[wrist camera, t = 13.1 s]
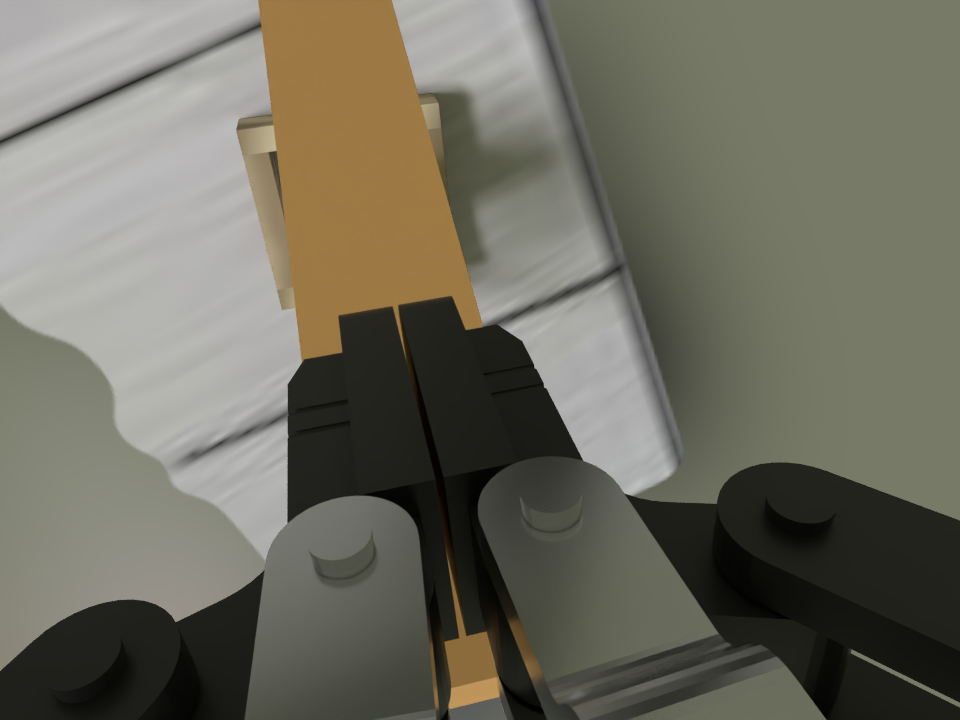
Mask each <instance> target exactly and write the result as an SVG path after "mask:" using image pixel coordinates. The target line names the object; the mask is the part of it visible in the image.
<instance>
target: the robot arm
mask: <svg viewBox="0 0 960 720" xmlns="http://www.w3.org/2000/svg"><path fill="white" fill-rule="evenodd" d="M398 311H399V319H400V325H401V331H402V338H403V344H404V350H405V354H404V350H403V346H402V342H401V338H400V334H399V329H398V325H397V321H396V317H395V313H394V309H393V306H390V307H384V308H378V309H372V310H367V311H361V312H355V313H349V314H343V315H338V319H339V328H340V336H341V345H342V353H337V354H331V355H325V356H320V357H314V358H309V359H304V361H303V362H302V364H301V365H300V367H299V368H298V370H297V371H296V373H295V374H294V376H293V377H292V379H291V381H290V382H289V384H288V414H289V416H288V436H289V438H288V523H287V525H286V526H285V527H284V528H283V529H282V530H281V531H280V532H279V533H278V535H277V536H276V538H275V539H274V540H273V542H272V544H271V546H270V549H269V551H268V554H267V558H266V563H265V570H264V571H263V572H262V573H261V574H260V575H259V576H257V577H256V578H255V579H254V580H253V581H252V582H251V583H249V584H248V585H246V586H245V587H243V588H242V589H241V590H239V591H238V592H236V593H234V594H232V595H230V596H229V597H227V598H225V599H223V600H221V601H219V602H217V603H215V604H213V605H211V606H209V607H207V608H205V609H202V610H200V611H198V612H196V613H194V614H192V615H190V616H188V617H186V618H184V619H182V620H180V621H178V622H175V621H174V619H173V617H172V616H171V615H170V614H169V613H168V612H167V611H166V610H164V609H163V608H161V607H159V606H157V605H156V604H152V603H149V602H146V601H140V600H117V601H112V602H106V603H102V604H98V605H95V606H92V607H89V608H86V609H84V610H82V611H79V612H77V613H74V614H73V615H71V616H69V617H67V618H65V619H63V620H62V621H60V622H58V623H57V624H55V625H54V626H52V627H51V628H49V629H48V630H46V631H45V632H44V633H43V634H41V635H40V636H39V637H38V638H36V640H34V641H33V642H32V643H31V644H29V645H28V646H27V647H26V648H25V649H24V650H23V651H22V652H21V653H20V654H19V655H17V656H16V657H15V658H14V659H13V660H12V661H11V662H10V663H9V664H8V665H6V666H5V667H4V668H3V669H2V670H1V671H0V720H451V717H450V711H449V701H450V698H451V678H450V672H449V666H448V660H447V654H446V648H445V641H450V640H454V639H458V638H459V632H458V625H457V619H456V612H455V605H454V599H453V592H452V586H451V579H450V572H449V566H448V561H449V565H450V569H451V573H452V578H453V582H454V586H455V590H456V594H457V599H458V603H459V607H460V611H461V616H462V620H463V624H464V628H465V633H466V636H469V635H474V634H478V633H482V632H486V631H487V635H488V639H489V642H490V646H491V650H492V654H493V658H494V661H495V668H496V677H497V686H498V693H499V697H500V701H501V704H502V707H503V710H504V713H505V716H506V719H507V720H960V708H959V707H957V706H955V705H953V704H951V703H949V702H947V701H945V700H943V699H941V698H939V697H937V696H935V695H933V694H931V693H929V692H927V691H925V690H923V689H921V688H919V687H917V686H915V685H913V684H911V683H909V682H907V681H905V680H903V679H901V678H899V677H897V676H895V675H893V674H891V673H889V672H887V671H885V670H883V669H881V668H879V667H877V666H875V665H873V664H871V663H869V662H867V661H865V660H863V659H861V658H859V657H857V656H855V655H853V654H851V650H852V649H853V650H854V651H856V652H858V653H861V654H863V655H865V656H867V657H869V658H871V659H873V660H875V661H877V662H879V663H881V664H883V665H885V666H887V667H889V668H891V669H893V670H895V671H897V672H899V673H901V674H903V675H905V676H907V677H909V678H911V679H913V680H915V681H917V682H919V683H921V684H923V685H926V686H927V687H929V688H931V689H934V690H935V691H938V692H940V693H942V694H944V695H946V696H948V697H950V698H952V699H954V700H956V701H958V702H960V521H959V520H957V519H954V518H951V517H949V516H946V515H943V514H941V513H938V512H935V511H932V510H930V509H927V508H924V507H922V506H919V505H916V504H914V503H911V502H908V501H906V500H903V499H900V498H897V497H895V496H892V495H889V494H887V493H884V492H881V491H878V490H876V489H873V488H871V487H868V486H865V485H862V484H860V483H857V482H854V481H852V480H849V479H846V478H844V477H841V476H838V475H836V474H833V473H830V472H828V471H824V470H821V469H818V468H815V467H811V466H806V465H802V464H795V463H766V464H759V465H756V466H752V467H749V468H746V469H744V470H741V471H740V472H738V473H736V474H735V475H733V476H732V477H730V478H729V480H728V481H727V482H726V483H725V484H724V485H723V487H722V489H721V490H720V493H719V496H718V500H717V504H704V503H676V502H675V503H674V502H659V501H650V500H645V499H640V498H637V497H633V496H630V495H627V494H624V492H623V491H622V489H621V488H620V486H619V485H618V484H617V483H616V482H615V480H614V479H613V478H612V477H611V476H609V475H608V474H607V473H606V472H605V471H603V470H601V469H600V468H598V467H596V466H594V465H592V464H590V463H587V462H585V461H583V459H582V457H581V455H580V453H579V451H578V450H577V448H576V446H575V444H574V442H573V440H572V438H571V436H570V434H569V432H568V430H567V428H566V426H565V424H564V422H563V420H562V418H561V416H560V414H559V412H558V410H557V409H556V407H555V405H554V403H553V401H552V399H551V397H550V395H549V393H548V391H547V389H546V388H544V383H543V381H542V379H541V377H540V375H539V373H538V371H537V369H535V368H534V364H533V362H532V360H531V358H530V356H529V354H528V352H527V350H526V348H525V346H524V344H523V342H522V341H521V340H519V339H518V338H516V337H515V336H513V335H512V334H510V333H509V332H507V331H506V330H504V329H503V328H501V327H500V326H498V325H491V326H486V327H480V328H475V329H469V330H466V329H465V327H464V324H463V322H462V319H461V317H460V314H459V312H458V309H457V307H456V304H455V302H454V299H453V297H452V296H446V297H441V298H435V299H429V300H423V301H417V302H412V303H406V304H400V305H398ZM405 356H406V358H405ZM447 556H448V559H447Z"/></svg>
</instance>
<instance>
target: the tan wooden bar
mask: <svg viewBox="0 0 960 720" xmlns="http://www.w3.org/2000/svg"><path fill="white" fill-rule="evenodd" d="M258 1H259V9H260V17H261V25H262V34H263V42H264V50H265V59H266V67H267V75H268V84H269V92H270V100H271V108H272V117H273V125H274V133H275V142H276V150H277V158H278V167H279V175H280V183H281V191H282V200H283V208H284V216H285V225H286V233H287V241H288V249H289V258H290V266H291V274H292V283H293V291H294V299H295V308H296V316H297V324H298V332H299V341H300V349H301V357H302V362H303V361H304V359H309V358H314V357H320V356H325V355H331V354H337V353H342V345H341V336H340V328H339V319H338V315H343V314H349V313H355V312H361V311H367V310H372V309H378V308H384V307H390V306H393V309H394V313H395V317H396V321H397V325H398V329H399V334H400V338H401V342H402V346H403V350H404V344H403V338H402V331H401V325H400V319H399V311H398V305H400V304H406V303H412V302H417V301H423V300H429V299H435V298H441V297H446V296H452V297H453V299H454V302H455V304H456V307H457V309H458V312H459V314H460V317H461V319H462V322H463V324H464V327H465V329H466V330H469V329H475V328H480V327H483V325H482V321H481V317H480V314H479V310H478V307H477V303H476V300H475V296H474V292H473V289H472V285H471V282H470V278H469V275H468V271H467V267H466V264H465V260H464V257H463V253H462V250H461V246H460V243H459V239H458V235H457V232H456V228H455V225H454V221H453V218H452V214H451V210H450V207H449V203H448V200H447V196H446V193H445V189H444V185H443V182H442V178H441V175H440V171H439V168H438V164H437V161H436V157H435V153H434V150H433V146H432V143H431V139H430V136H429V132H428V128H427V125H426V121H425V118H424V114H423V111H422V107H421V103H420V100H419V96H418V93H417V89H416V86H415V82H414V79H413V75H412V71H411V68H410V64H409V61H408V57H407V54H406V50H405V46H404V43H403V39H402V36H401V32H400V29H399V25H398V21H397V18H396V14H395V11H394V7H393V4H392V0H258ZM404 354H405V350H404ZM405 358H406V356H405ZM447 559H448V556H447ZM448 566H449V572H450V579H451V586H452V592H453V599H454V605H455V612H456V619H457V625H458V632H459V638H458V639H454V640H450V641H445V648H446V654H447V660H448V666H449V672H450V678H451V698H450V701H449V709H451V708H455V707H459V706H463V705H468V704H471V703H476V702H479V701H484V700H488V699H492V698H496V697H499V693H498V686H497V677H496V668H495V661H494V658H493V654H492V650H491V646H490V642H489V639H488V635H487V631H486V632H482V633H478V634H474V635H469V636H466V633H465V628H464V624H463V620H462V616H461V611H460V607H459V603H458V599H457V594H456V590H455V586H454V582H453V578H452V573H451V569H450V565H449V561H448Z"/></svg>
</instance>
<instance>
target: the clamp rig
mask: <svg viewBox="0 0 960 720" xmlns="http://www.w3.org/2000/svg"><path fill="white" fill-rule="evenodd" d="M418 96H419V100H420V103H421V107H422V111H423V114H424V118H425V121H426V125H427V128H428V132H429V136H430V139H431V143H432V146H433V150H434V153H435V157H436V161H437V164H438V168H439V171H440V175H441V178H442V182H443V185H444V189H445V193H446V196H447V200H448V203H449V195H448V186H447V176H446V167H445V158H444V149H443V140H442V130H441V121H440V112H439V103H438V101H437V100H436V98H435V97H434V95H433V94H432V93H430V94H423V95H418ZM236 131H237V135H238V139H239V143H240V147H241V151H242V155H243V158H244V162H245V166H246V170H247V174H248V178H249V182H250V186H251V190H252V194H253V198H254V201H255V205H256V209H257V213H258V217H259V221H260V225H261V229H262V233H263V237H264V241H265V245H266V248H267V252H268V256H269V260H270V264H271V268H272V272H273V276H274V280H275V284H276V288H277V291H278V295H279V299H280V303H281V307H282V310H285V309H290V308H295V299H294V291H293V283H292V274H291V266H290V258H289V249H288V241H287V233H286V225H285V216H284V208H283V200H282V192H281V188H280V184H279V180H278V175H277V171H276V167H275V163H274V158H273V154H272V151H277V150H276V142H275V133H274V125H273V117H272V115H268V116H261V117H253V118H246V119H239V121H238V125H237V130H236ZM449 207H450V204H449Z"/></svg>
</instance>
